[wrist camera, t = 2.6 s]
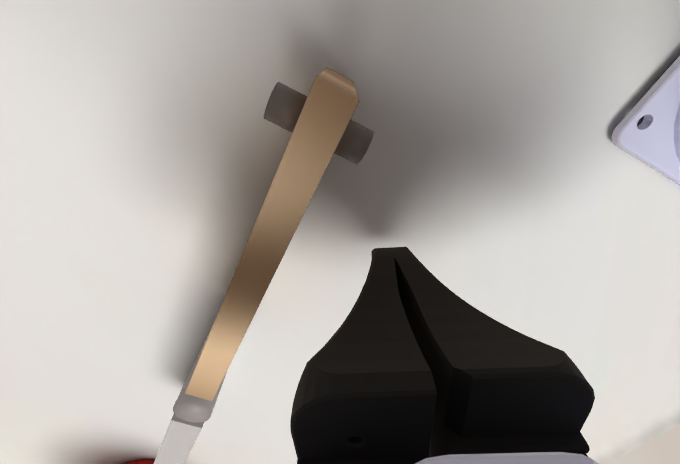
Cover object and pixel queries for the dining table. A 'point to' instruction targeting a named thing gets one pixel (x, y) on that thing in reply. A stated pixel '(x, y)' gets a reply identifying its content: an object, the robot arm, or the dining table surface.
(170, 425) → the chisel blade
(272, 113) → the door
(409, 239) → the dining table surface
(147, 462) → the canned food
